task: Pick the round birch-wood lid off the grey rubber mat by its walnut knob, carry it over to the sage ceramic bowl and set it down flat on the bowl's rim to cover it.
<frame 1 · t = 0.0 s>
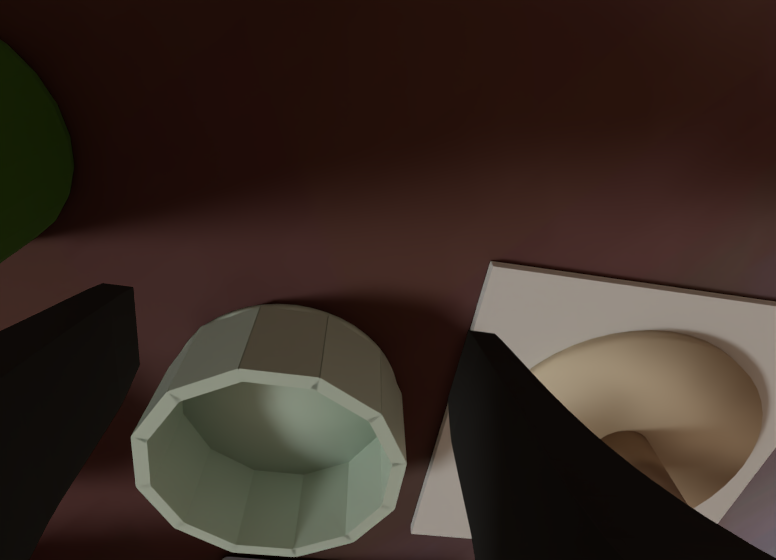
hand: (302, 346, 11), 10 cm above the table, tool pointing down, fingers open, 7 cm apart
mat: (608, 433, 27), on the table
bowl: (287, 395, 25), on the table
lid: (612, 439, 26), resting on mat
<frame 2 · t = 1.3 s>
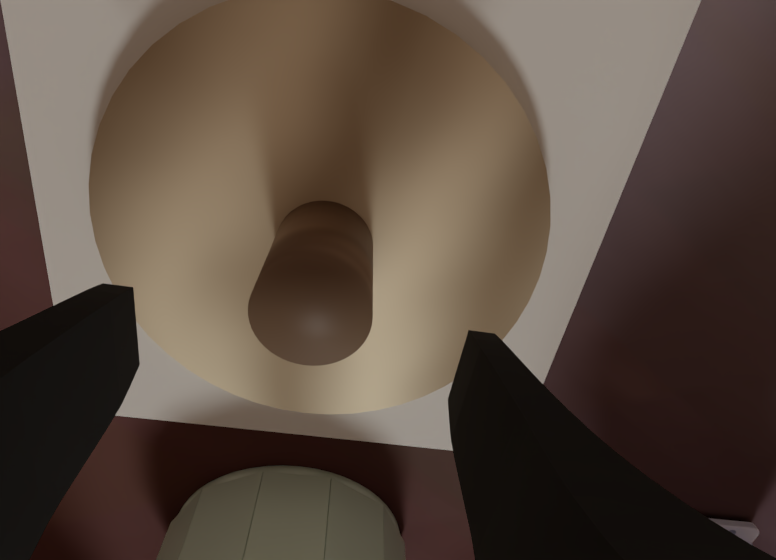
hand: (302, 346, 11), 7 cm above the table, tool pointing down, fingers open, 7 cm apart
mat: (328, 229, 17), on the table
bowl: (289, 540, 25), on the table
lid: (327, 235, 16), resting on mat
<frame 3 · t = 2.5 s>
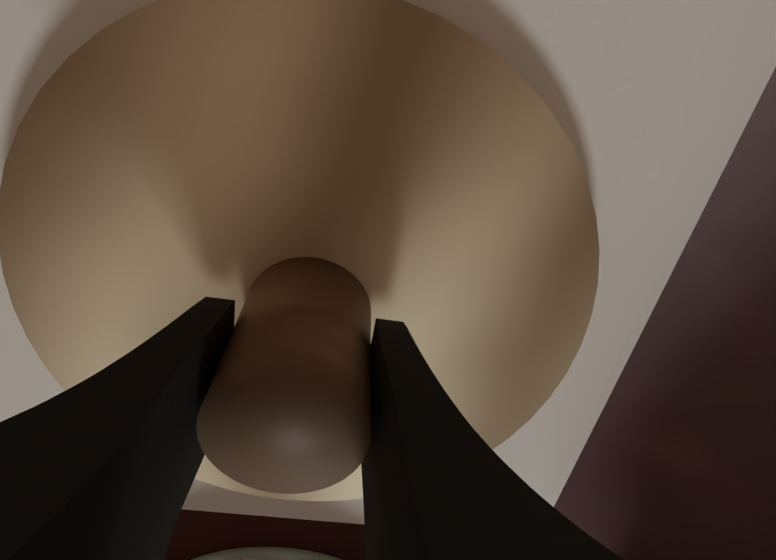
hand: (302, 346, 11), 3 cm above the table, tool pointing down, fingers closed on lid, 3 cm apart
mat: (314, 285, 13), on the table
lid: (312, 295, 13), resting on mat, touching gripper
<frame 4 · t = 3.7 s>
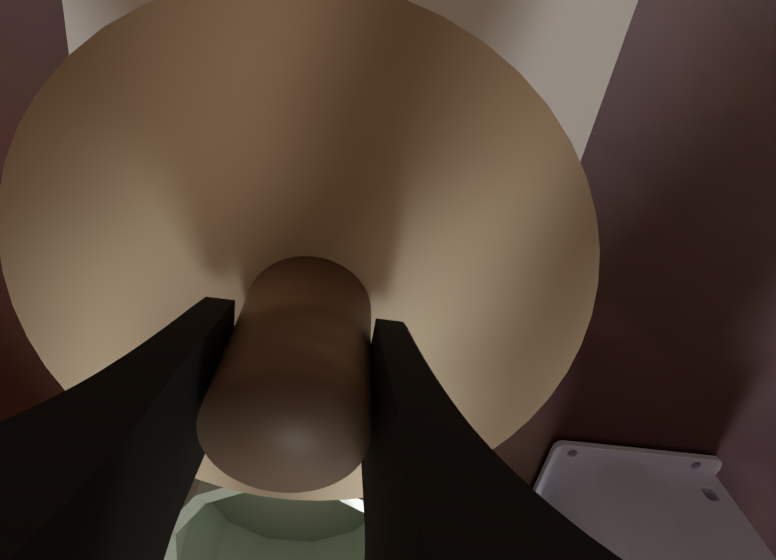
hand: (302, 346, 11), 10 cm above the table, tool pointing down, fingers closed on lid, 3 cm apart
mat: (333, 179, 19), on the table
bowl: (298, 474, 28), on the table
lid: (312, 294, 13), point 8 cm above the table, touching gripper
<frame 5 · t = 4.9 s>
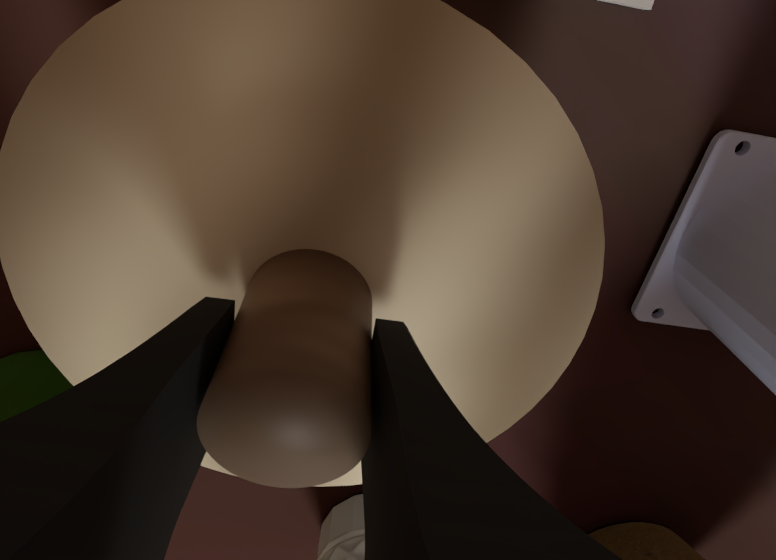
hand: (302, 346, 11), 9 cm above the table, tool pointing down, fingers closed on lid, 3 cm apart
plant pot: (620, 556, 31), on the table
lid: (313, 285, 13), point 7 cm above the table, touching gripper
wine bottle: (72, 419, 24), on the table
white cup: (381, 525, 29), on the table
when the fingers open (8 cm above the table, at t = 5.3 s): lid drops 1 cm, resting on bowl.
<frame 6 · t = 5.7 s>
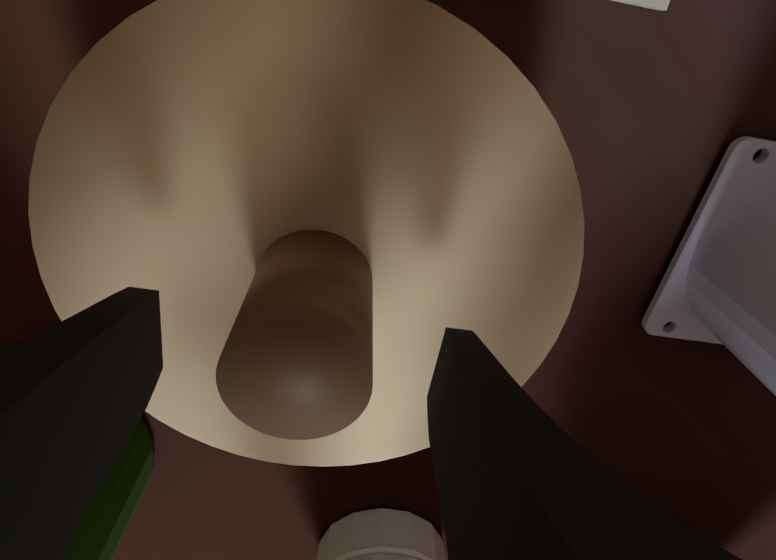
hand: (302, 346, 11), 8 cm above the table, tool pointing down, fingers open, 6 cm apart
lid: (318, 267, 14), point 5 cm above the table, touching bowl
wine bottle: (59, 435, 23), on the table
white cup: (380, 542, 28), on the table
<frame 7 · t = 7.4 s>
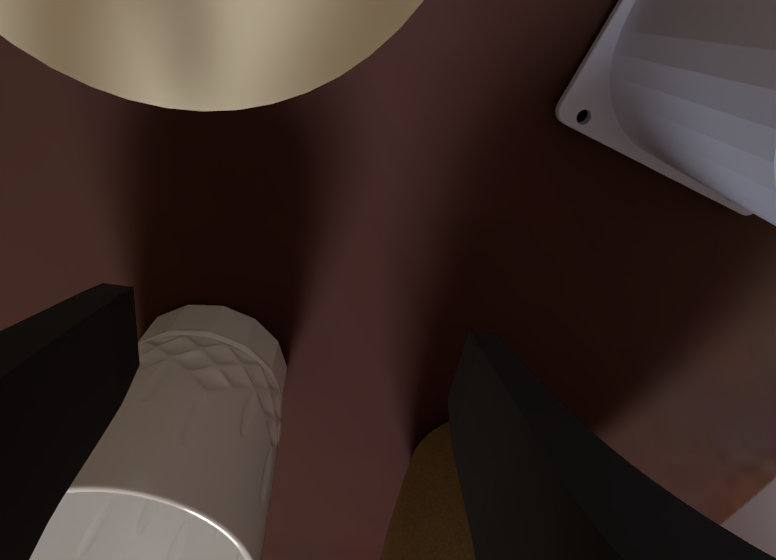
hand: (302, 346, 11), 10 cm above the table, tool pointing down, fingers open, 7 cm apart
plant pot: (480, 460, 28), on the table
white cup: (215, 360, 24), on the table
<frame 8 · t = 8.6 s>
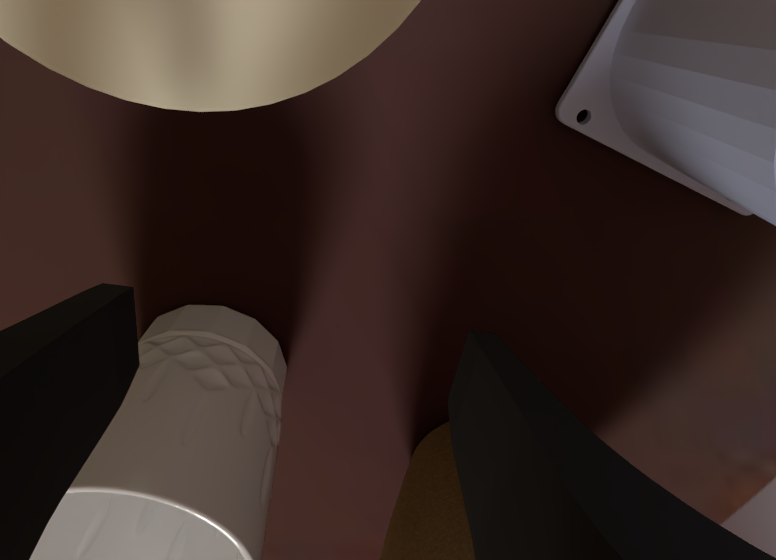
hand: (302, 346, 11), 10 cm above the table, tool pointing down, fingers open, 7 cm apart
plant pot: (480, 460, 28), on the table
white cup: (215, 360, 24), on the table
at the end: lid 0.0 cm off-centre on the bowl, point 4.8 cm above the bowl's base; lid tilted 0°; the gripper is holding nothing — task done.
